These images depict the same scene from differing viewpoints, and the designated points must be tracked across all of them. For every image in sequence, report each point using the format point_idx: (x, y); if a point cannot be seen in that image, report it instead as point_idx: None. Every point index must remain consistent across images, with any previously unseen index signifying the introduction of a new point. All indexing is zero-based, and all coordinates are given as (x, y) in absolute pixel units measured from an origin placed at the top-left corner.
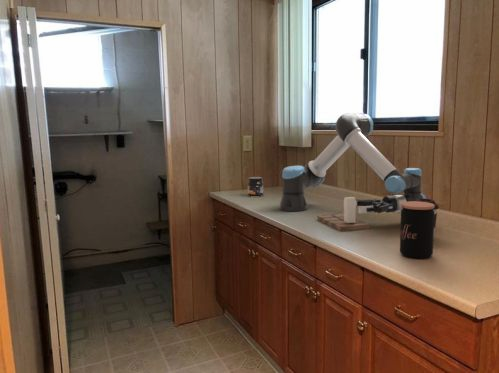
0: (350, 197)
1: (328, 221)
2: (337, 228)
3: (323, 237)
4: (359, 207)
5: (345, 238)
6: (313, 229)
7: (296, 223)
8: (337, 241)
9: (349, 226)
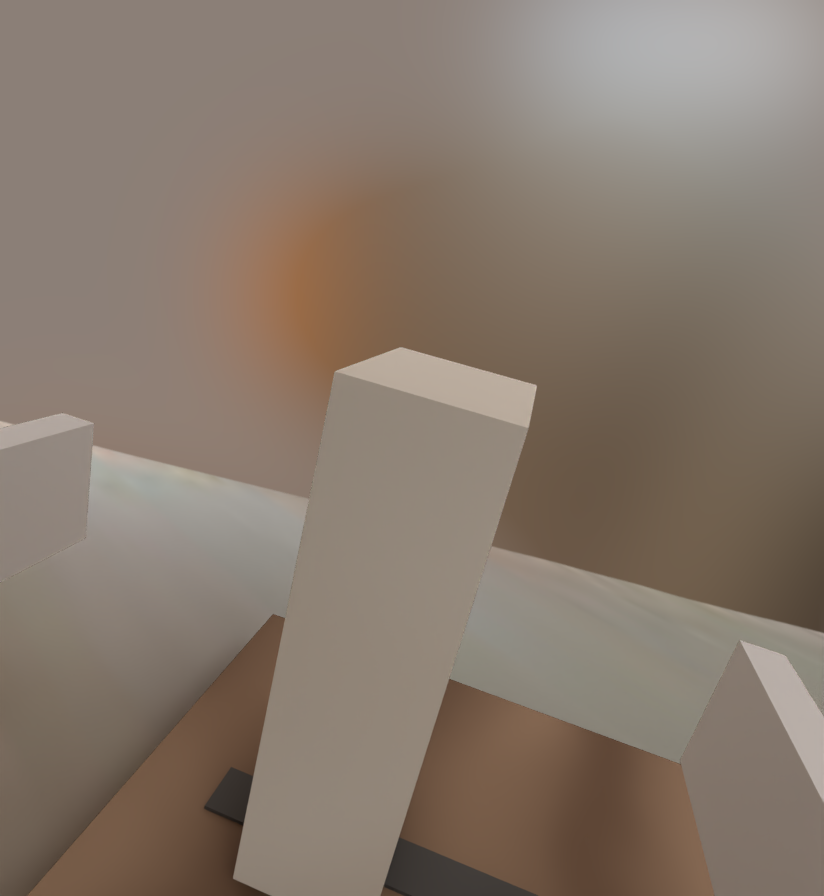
0: (474, 392)
1: (588, 734)
2: None
3: (255, 507)
4: (65, 422)
5: (89, 535)
6: (481, 600)
7: None
8: (113, 483)
9: (207, 692)
